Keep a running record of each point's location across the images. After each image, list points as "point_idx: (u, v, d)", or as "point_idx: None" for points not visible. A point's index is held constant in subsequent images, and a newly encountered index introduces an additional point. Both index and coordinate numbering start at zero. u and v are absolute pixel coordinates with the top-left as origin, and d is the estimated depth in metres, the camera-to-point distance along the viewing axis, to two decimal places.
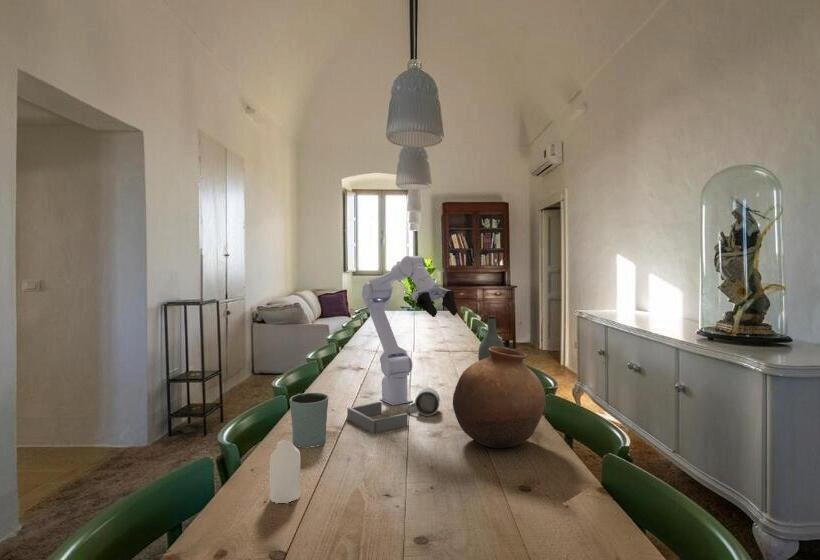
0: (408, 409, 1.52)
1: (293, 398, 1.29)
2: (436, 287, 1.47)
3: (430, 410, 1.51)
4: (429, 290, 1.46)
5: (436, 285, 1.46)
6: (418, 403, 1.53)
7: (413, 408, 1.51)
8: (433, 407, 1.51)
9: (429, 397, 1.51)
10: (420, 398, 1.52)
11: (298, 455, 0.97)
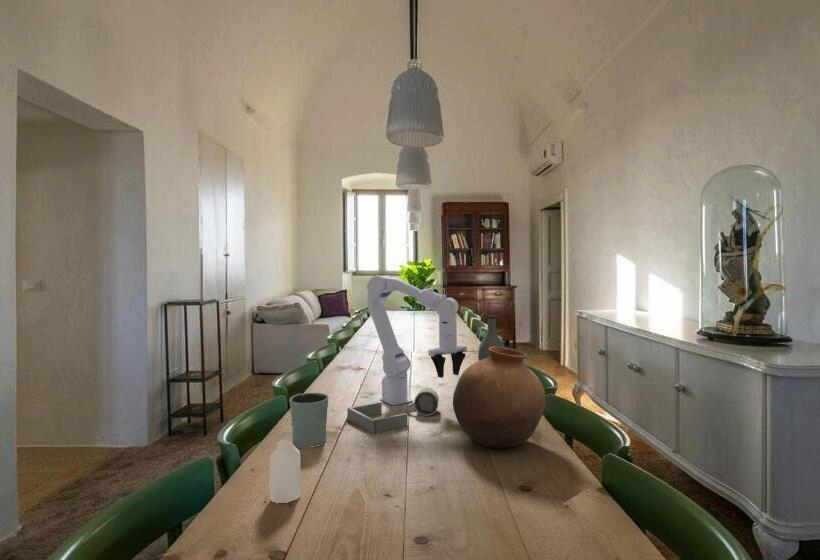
0: (407, 409, 1.52)
1: (293, 398, 1.29)
2: (453, 351, 1.56)
3: (429, 410, 1.51)
4: (446, 351, 1.56)
5: None
6: (417, 403, 1.53)
7: (412, 408, 1.51)
8: (432, 407, 1.51)
9: (428, 397, 1.51)
10: (419, 398, 1.52)
11: (298, 455, 0.97)
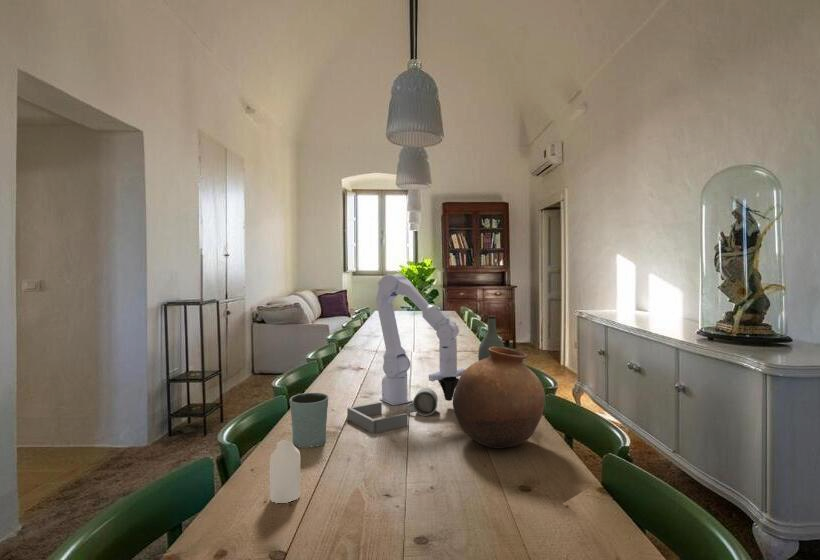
0: (406, 409, 1.52)
1: (293, 398, 1.29)
2: None
3: (428, 410, 1.51)
4: None
5: (454, 376, 1.56)
6: (416, 403, 1.53)
7: (411, 408, 1.51)
8: (431, 407, 1.51)
9: (427, 397, 1.51)
10: (418, 398, 1.52)
11: (298, 455, 0.97)
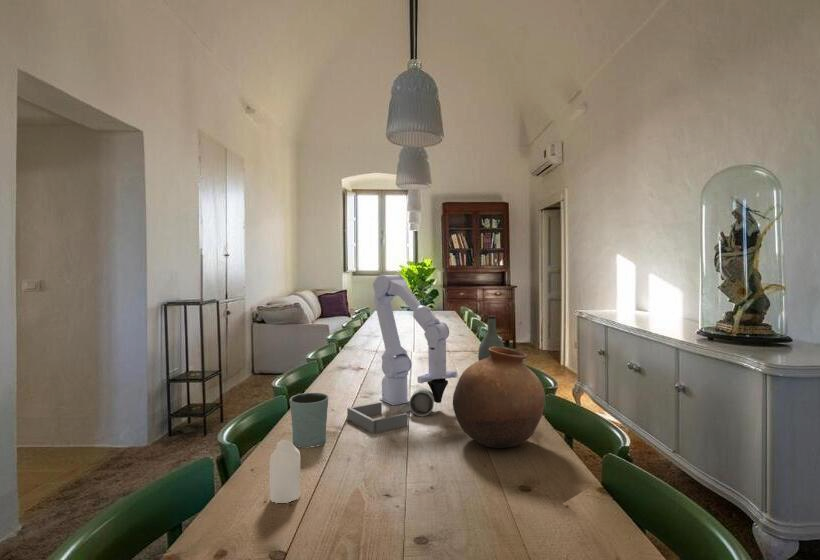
0: (402, 409, 1.52)
1: (293, 398, 1.29)
2: (443, 377, 1.54)
3: (424, 410, 1.51)
4: None
5: (444, 377, 1.53)
6: (412, 403, 1.52)
7: (407, 408, 1.51)
8: (427, 407, 1.51)
9: (423, 397, 1.51)
10: (414, 398, 1.51)
11: (298, 455, 0.97)
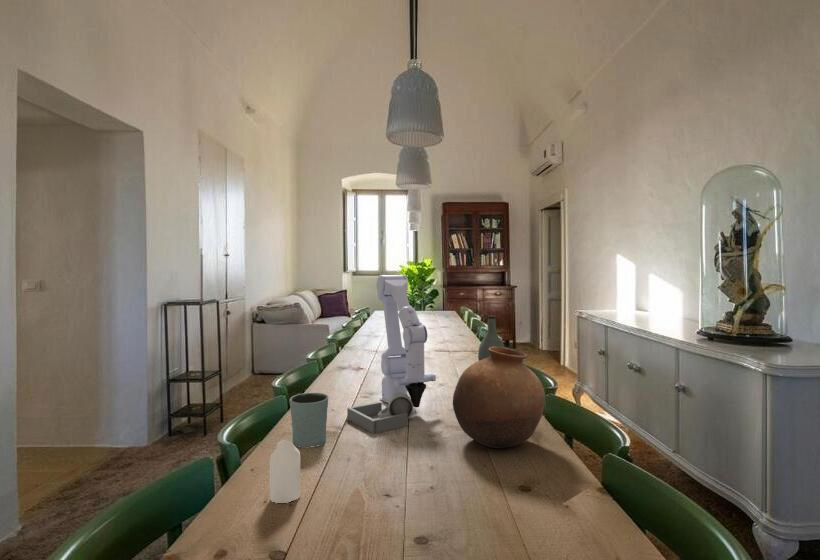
0: (380, 415, 1.46)
1: (293, 398, 1.29)
2: (421, 381, 1.49)
3: None
4: None
5: (421, 381, 1.48)
6: (391, 408, 1.47)
7: (386, 414, 1.45)
8: (407, 412, 1.46)
9: (402, 402, 1.46)
10: (393, 403, 1.46)
11: (298, 455, 0.97)
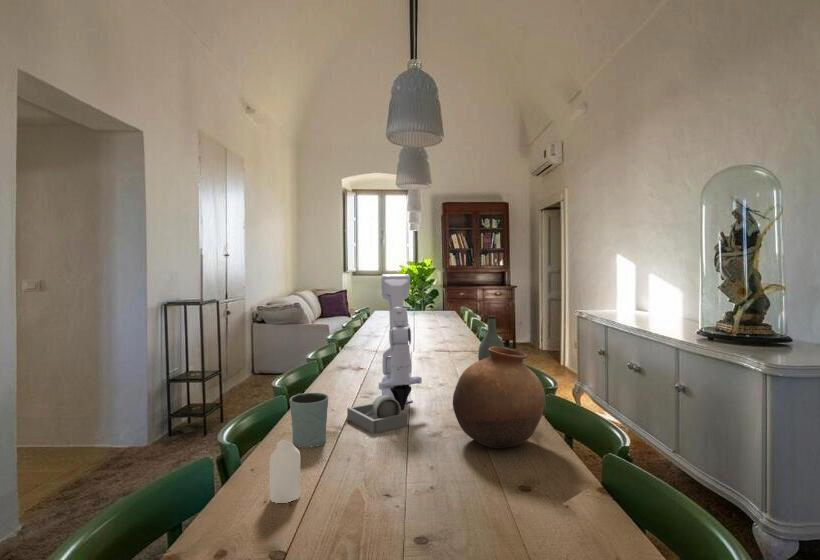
0: None
1: (293, 398, 1.29)
2: None
3: None
4: None
5: None
6: (377, 412, 1.44)
7: (373, 418, 1.42)
8: (393, 414, 1.44)
9: (389, 404, 1.43)
10: (379, 406, 1.43)
11: (298, 455, 0.97)
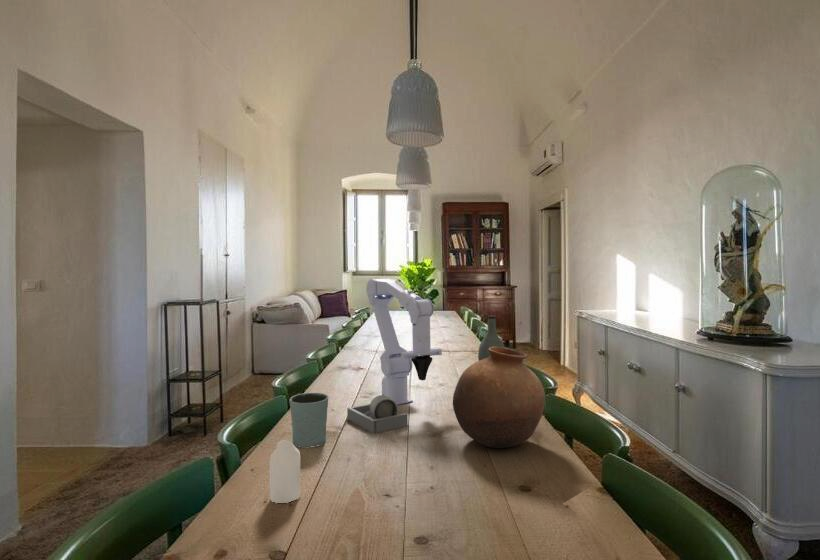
0: None
1: (293, 398, 1.29)
2: None
3: None
4: (419, 354, 1.51)
5: None
6: (374, 412, 1.43)
7: None
8: (391, 415, 1.44)
9: (386, 405, 1.43)
10: (377, 407, 1.43)
11: (298, 455, 0.97)
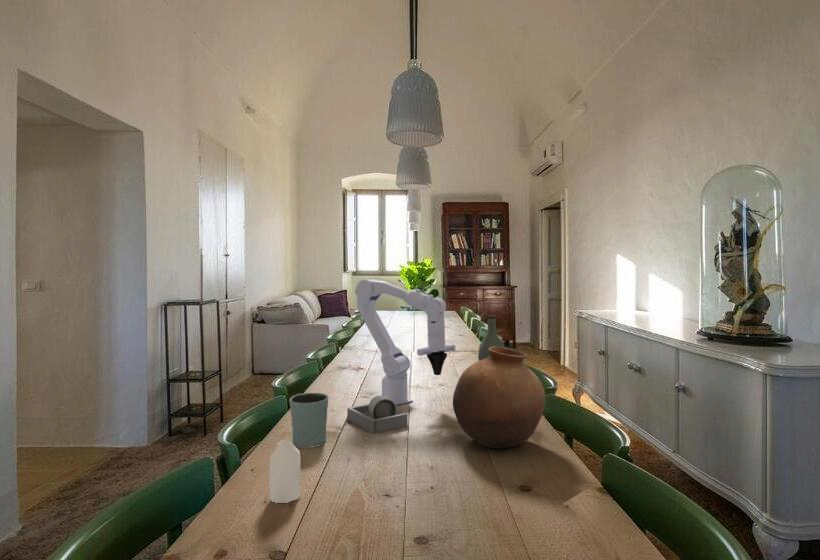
0: None
1: (293, 398, 1.29)
2: None
3: None
4: (435, 350, 1.58)
5: None
6: (373, 412, 1.43)
7: None
8: (389, 415, 1.44)
9: (385, 405, 1.43)
10: (376, 407, 1.43)
11: (298, 455, 0.97)
